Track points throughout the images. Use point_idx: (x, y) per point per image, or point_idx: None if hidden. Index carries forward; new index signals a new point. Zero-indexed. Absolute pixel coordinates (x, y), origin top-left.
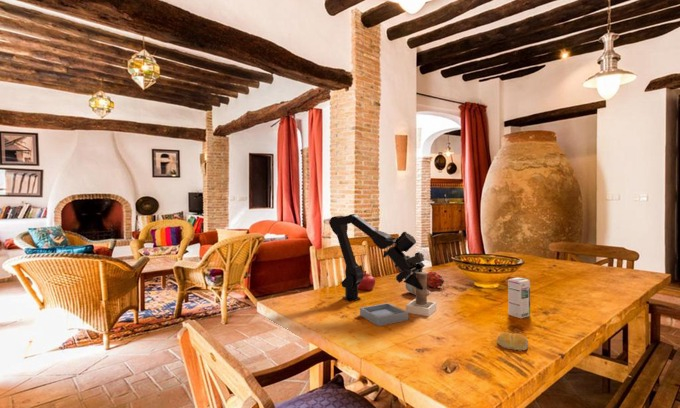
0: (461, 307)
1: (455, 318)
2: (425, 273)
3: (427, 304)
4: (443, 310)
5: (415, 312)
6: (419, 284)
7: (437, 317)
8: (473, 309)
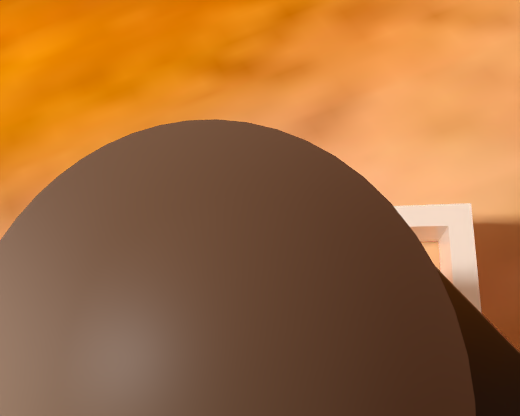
0: (117, 97)
1: (372, 38)
2: (111, 188)
3: None
4: None
5: None
6: (491, 330)
7: (433, 150)
8: (128, 25)
